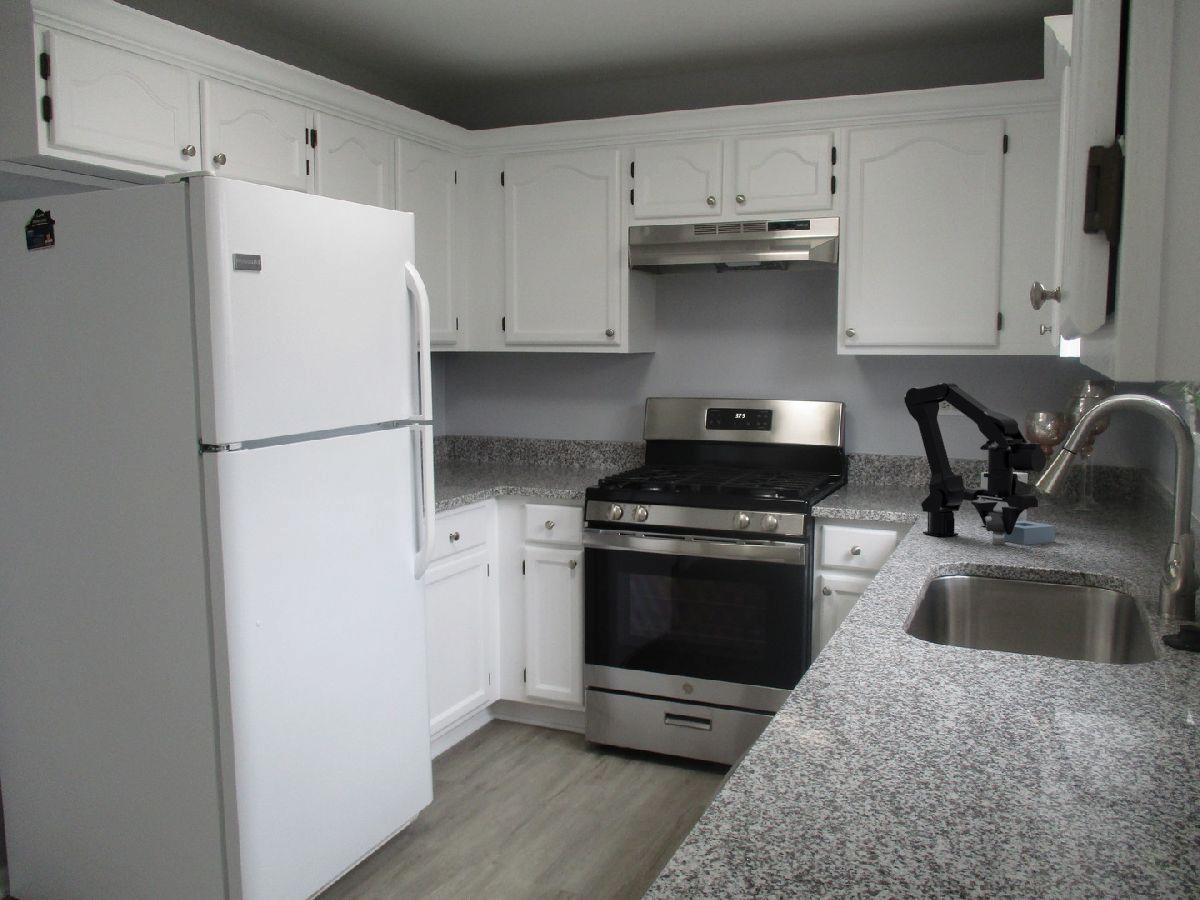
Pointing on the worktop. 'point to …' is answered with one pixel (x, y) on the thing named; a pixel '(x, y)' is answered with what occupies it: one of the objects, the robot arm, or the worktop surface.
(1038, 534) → the block
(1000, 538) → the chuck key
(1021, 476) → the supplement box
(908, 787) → the worktop surface
